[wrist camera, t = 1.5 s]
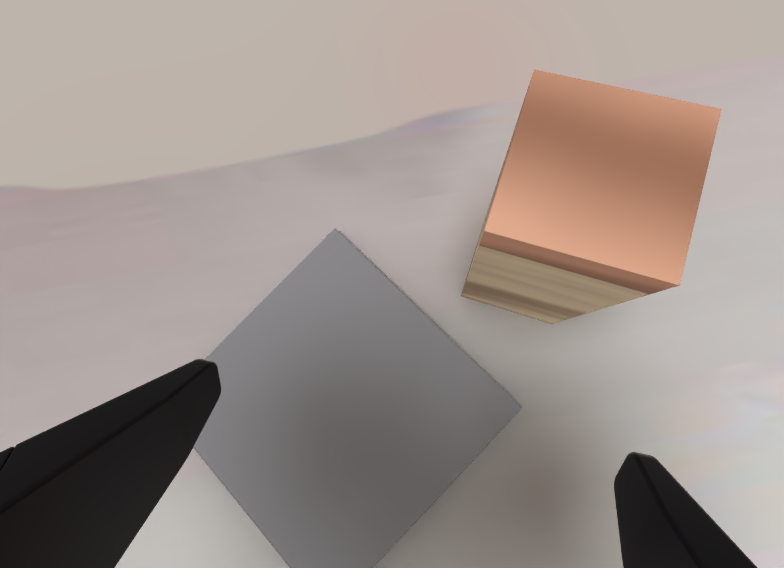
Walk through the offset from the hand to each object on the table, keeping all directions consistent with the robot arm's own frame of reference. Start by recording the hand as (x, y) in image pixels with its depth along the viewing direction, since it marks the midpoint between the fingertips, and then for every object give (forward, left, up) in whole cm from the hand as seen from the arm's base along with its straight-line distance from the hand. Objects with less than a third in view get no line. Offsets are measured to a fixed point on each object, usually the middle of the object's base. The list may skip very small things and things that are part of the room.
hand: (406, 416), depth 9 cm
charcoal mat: (+3, +4, -14) cm, 15 cm away
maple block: (+1, -8, -14) cm, 16 cm away
